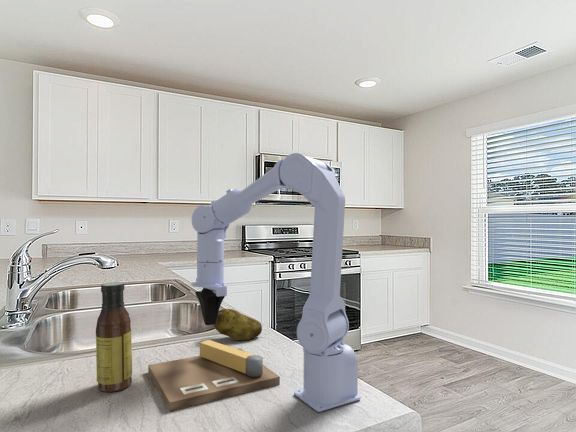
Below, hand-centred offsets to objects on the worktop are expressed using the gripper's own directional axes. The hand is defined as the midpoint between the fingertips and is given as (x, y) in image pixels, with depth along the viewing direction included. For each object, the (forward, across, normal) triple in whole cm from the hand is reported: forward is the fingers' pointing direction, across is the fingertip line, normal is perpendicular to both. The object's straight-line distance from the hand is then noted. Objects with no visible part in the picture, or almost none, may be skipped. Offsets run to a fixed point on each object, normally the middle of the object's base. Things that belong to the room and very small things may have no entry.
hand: (210, 324), depth 82 cm
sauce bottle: (+10, 0, -19) cm, 21 cm away
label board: (+9, +6, -2) cm, 11 cm away
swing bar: (+7, +5, +3) cm, 9 cm away
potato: (+10, -16, +13) cm, 23 cm away
